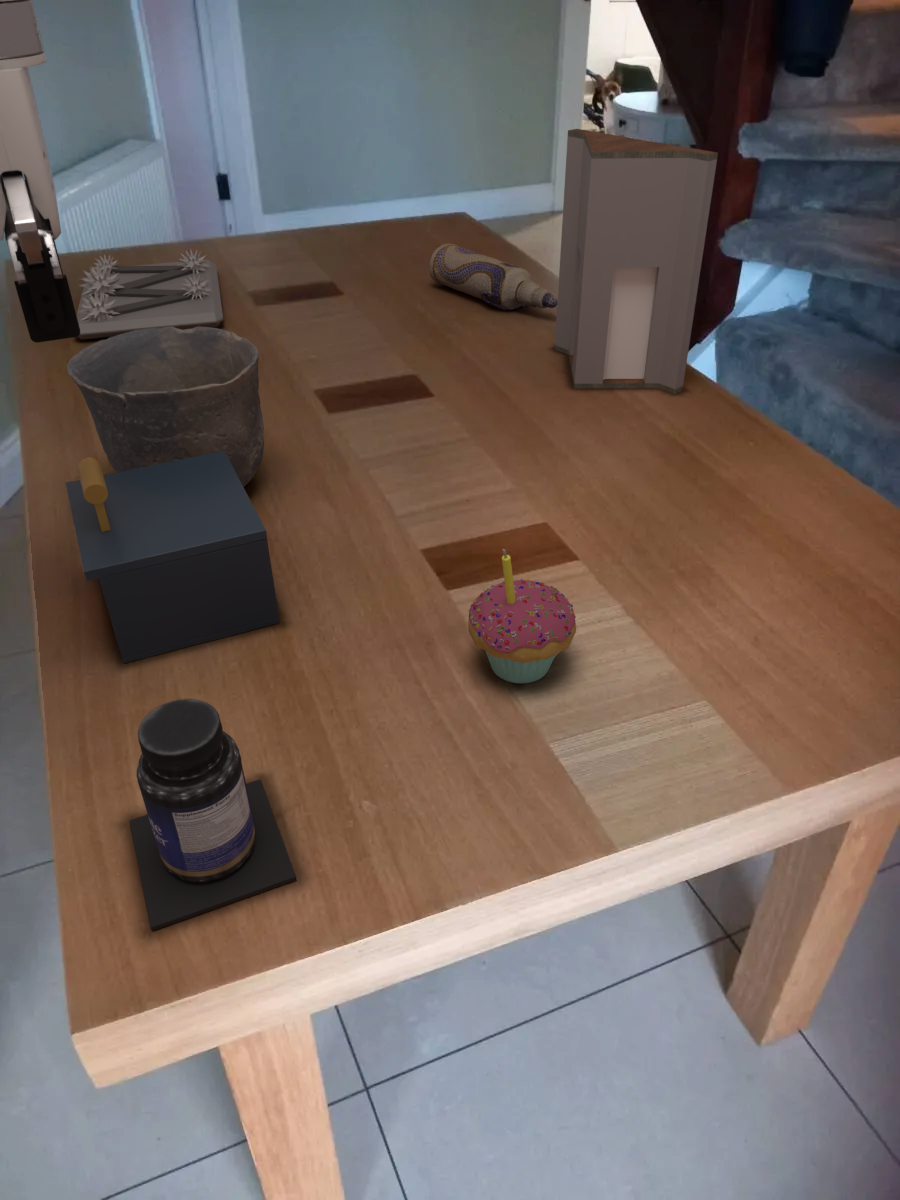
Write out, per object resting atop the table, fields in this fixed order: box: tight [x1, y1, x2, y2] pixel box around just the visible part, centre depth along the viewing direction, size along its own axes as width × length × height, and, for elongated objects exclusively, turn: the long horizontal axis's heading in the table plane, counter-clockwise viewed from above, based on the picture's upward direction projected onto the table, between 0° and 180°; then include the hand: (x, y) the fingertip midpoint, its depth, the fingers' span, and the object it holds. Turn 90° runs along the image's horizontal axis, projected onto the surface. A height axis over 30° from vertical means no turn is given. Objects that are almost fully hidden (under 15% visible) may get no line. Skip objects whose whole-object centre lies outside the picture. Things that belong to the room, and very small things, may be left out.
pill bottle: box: [136, 698, 255, 883], centre depth 57 cm, size 6×6×11 cm
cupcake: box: [467, 548, 577, 684], centre depth 71 cm, size 9×8×12 cm
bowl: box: [66, 326, 265, 487], centre depth 94 cm, size 18×18×15 cm
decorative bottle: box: [428, 243, 558, 311], centre depth 144 cm, size 26×8×7 cm, turn 40°
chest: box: [98, 538, 281, 664], centre depth 81 cm, size 13×15×9 cm
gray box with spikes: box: [76, 247, 224, 340], centre depth 145 cm, size 30×22×7 cm
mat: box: [128, 779, 297, 932], centre depth 60 cm, size 9×9×1 cm
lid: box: [65, 451, 268, 581], centre depth 76 cm, size 14×15×5 cm
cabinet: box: [554, 128, 719, 395], centre depth 114 cm, size 21×10×28 cm, turn 42°
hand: (50, 315), depth 66 cm, fingers open, 9 cm apart
